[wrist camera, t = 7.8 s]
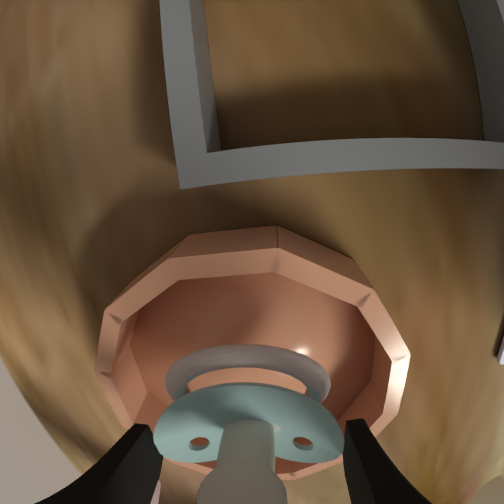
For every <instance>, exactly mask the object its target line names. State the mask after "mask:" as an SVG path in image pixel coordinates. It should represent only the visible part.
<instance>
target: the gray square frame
mask: <svg viewBox="0 0 504 504" xmlns="http://www.w3.org/2000/svg"><path fill="white" fill-rule="evenodd" d="M458 4H459V7H460V10H461V13H462V17H463V20H464V24H465V27H466V31H467V35H468V39H469V43H470V47H471V51H472V56H473V61H474V66H475V71H476V76H477V82H478V89H479V95H480V103H481V111H482V120H483V131H484V141H478V140H462V139H440V138H363V139H339V140H322V141H308V142H295V143H284V144H274V145H264V146H256V147H247V148H239V149H231V150H224V151H221V144H220V136H219V128H218V120H217V112H216V104H215V96H214V88H213V80H212V72H211V63H210V55H209V46H208V38H207V29H206V20H205V11H204V2H203V0H160V17H161V31H162V44H163V56H164V67H165V77H166V87H167V96H168V105H169V113H170V122H171V130H172V137H173V145H174V152H175V159H176V166H177V173H178V180H179V186H180V189H187V188H194V187H201V186H208V185H216V184H223V183H231V182H239V181H248V180H257V179H266V178H276V177H286V176H297V175H308V174H320V173H334V172H349V171H367V170H389V169H423V168H481V169H504V0H458Z"/></svg>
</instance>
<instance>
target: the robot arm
mask: <svg viewBox="0 0 504 504" xmlns="http://www.w3.org/2000/svg"><path fill="white" fill-rule="evenodd" d="M497 361H498V363H499V364H504V337H503V340H502V344H501V347H500V350H499V353H498V356H497ZM342 454H343V463H344V472H345V477H346V482H347V486H348V491H349V495H350V499H351V504H432V503H431V502H430V501H428V500H427V499H426V498H425V497H424V496H423V495H422V494H421V493H420V492H419V491H417V490H416V489H415V488H414V487H413V486H412V485H411V483H410V482H409V481H408V480H407V479H406V478H405V477H404V476H403V475H402V473H401V472H400V471H399V470H398V469H397V467H396V466H395V465H394V464H393V462H392V461H391V460H390V458H389V457H388V456H387V454H386V453H385V452H384V450H383V449H382V447H381V446H380V444H379V443H378V441H377V440H376V438H375V437H374V435H373V433H372V432H371V430H370V428H369V427H368V425H367V423H366V421H365V419H363V418H360V419H353V420H347V421H346V425H345V433H344V448H343V452H342ZM162 461H163V455H161V454H160V453H159V451H158V449H157V447H156V445H155V444H154V439H153V433H152V431H151V429H150V427H149V425H147V424H138V423H135V424H134V425H133V426H132V427H131V428H130V429H129V430H128V431H127V432H126V433H125V434H124V435H123V436H122V437H121V438H120V439H119V440H118V441H117V443H116V444H115V445H114V446H113V447H112V448H111V449H110V450H109V451H108V452H107V453H106V454H105V455H104V456H103V457H102V458H101V459H100V460H99V461H98V462H97V463H95V464H94V465H93V466H92V467H91V468H90V469H89V470H88V471H87V472H85V473H84V474H83V475H82V476H80V477H79V478H78V479H77V480H75V481H74V482H72V483H71V484H70V485H68V486H67V487H65V488H64V489H62V490H60V491H59V492H57V493H55V494H53V495H52V496H50V497H48V498H46V499H44V500H42V501H40V502H37V503H35V504H150V503H151V500H152V497H153V495H154V492H155V489H156V486H157V482H158V479H159V476H160V472H161V467H162Z"/></svg>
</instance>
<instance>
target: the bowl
mask: <svg viewBox="0 0 504 504" xmlns="http://www.w3.org/2000/svg"><path fill="white" fill-rule="evenodd" d="M231 344H259V345H269V346H274V347H280V348H286V349H289V350H292V351H295V352H298V353H301V354H304V355H306V356H308V357H309V358H311V359H313V360H314V361H316V362H317V363H319V364H320V365H321V366H322V367H323V368H324V369H325V371H326V372H327V373H328V374H329V378H330V383H331V387H330V390H329V392H328V395H327V397H326V399H325V400H324V401H323V402H322V403H321V405H323V406H324V407H325V408H327V409H328V410H329V412H330V413H331V414H332V415H333V416H334V417H335V419H336V421H337V422H338V424H339V425H340V427H341V430H342V432H343V435H344V433H345V425H346V421H347V420H353V419H360V418H363V419H365V421H366V423H367V425H368V427H369V428H370V430H371V432H372V433H373V435H374V437H376V436H377V435H378V434H379V433H380V432H381V431H382V430H383V429H384V428H385V427H386V425H387V424H388V423H389V422H390V421H391V420H392V419H393V418H394V417H395V416H396V415H397V413H398V410H399V406H400V402H401V398H402V394H403V389H404V385H405V380H406V375H407V370H408V365H409V360H410V352H409V350H408V348H407V346H406V345H405V343H404V341H403V339H402V337H401V336H400V334H399V332H398V330H397V328H396V327H395V325H394V323H393V321H392V320H391V318H390V316H389V314H388V313H387V311H386V309H385V308H384V306H383V304H382V302H381V301H380V299H379V297H378V296H377V294H376V292H375V291H374V289H373V288H372V286H371V285H370V283H369V282H368V280H367V279H366V277H365V276H364V274H363V273H362V271H361V270H360V268H359V267H358V265H357V264H356V262H355V261H354V260H353V259H351V258H349V257H347V256H345V255H342V254H340V253H338V252H336V251H334V250H331V249H329V248H327V247H325V246H323V245H320V244H318V243H316V242H314V241H311V240H309V239H307V238H305V237H302V236H300V235H298V234H296V233H293V232H291V231H289V230H287V229H284V228H282V227H280V226H278V225H277V227H276V225H273V226H263V227H253V228H243V229H234V230H225V231H215V232H206V233H197V234H190V235H188V236H187V237H186V238H184V239H183V240H182V241H180V242H179V243H178V244H177V245H175V246H174V247H173V248H172V249H170V250H169V251H168V252H167V253H165V254H164V255H163V256H162V257H160V258H159V259H158V260H157V261H155V262H154V263H153V264H152V265H150V266H149V267H148V268H147V269H145V270H144V271H143V272H142V273H140V274H139V275H138V276H137V277H136V278H134V279H133V280H132V281H131V282H130V283H129V284H128V285H127V287H126V288H125V289H124V290H123V291H122V292H121V293H120V294H119V295H118V296H117V297H116V298H115V299H114V300H113V301H112V302H111V303H110V305H109V306H108V307H107V308H106V309H105V310H104V315H103V321H102V326H101V332H100V338H99V344H98V350H97V357H96V364H95V373H96V375H97V377H98V380H99V382H100V384H101V386H102V388H103V390H104V392H105V394H106V396H107V398H108V400H109V402H110V404H111V406H112V408H113V410H114V412H115V414H116V415H117V417H118V419H119V421H120V423H121V424H122V425H123V426H124V427H125V428H126V429H128V430H129V429H130V428H131V427H132V426H133V425H134V424H135V423H138V424H147V425H149V427H150V429H151V431H152V433H153V435H154V430H155V427H156V425H157V422H158V420H159V417H160V416H161V414H162V413H163V411H164V410H165V409H166V408H167V407H168V406H169V405H170V404H171V403H173V402H174V401H173V400H172V399H171V397H170V395H169V394H168V392H167V390H166V388H165V375H166V373H167V371H168V369H169V367H170V366H172V365H173V364H174V363H175V362H176V361H178V360H179V359H180V358H182V357H184V356H186V355H188V354H191V353H193V352H195V351H197V350H201V349H206V348H210V347H214V346H219V345H231ZM234 382H254V383H265V384H271V385H276V386H281V387H285V388H288V389H291V390H294V391H297V392H299V393H302V394H304V393H305V392H306V389H307V387H306V386H305V385H304V384H303V383H302V382H301V381H299V380H297V379H296V378H294V377H292V376H290V375H287V374H284V373H281V372H277V371H273V370H267V369H261V368H245V367H240V368H226V369H220V370H215V371H211V372H208V373H205V374H202V375H200V376H197V377H196V378H194V379H193V380H191V381H190V382H189V383H188V387H189V389H190V391H191V392H193V391H195V390H198V389H200V388H204V387H208V386H212V385H217V384H223V383H234ZM293 440H294V441H295V442H296V443H298V444H300V445H304V446H308V445H311V444H312V442H311V441H310V440H308V439H307V438H304V437H296V438H294V439H293ZM208 442H209V440H208V439H207V438H204V437H197V438H194V439H192V440H191V441H190V443H191V444H192V445H195V446H201V445H205V444H207V443H208ZM163 457H164V456H163ZM164 458H165V459H167V460H168V461H170V462H172V463H174V464H177V465H180V466H183V467H186V468H189V469H192V470H195V471H198V472H202V473H205V474H209V473H210V472H211V471H212V470H214V469H215V468H216V462H217V460H213V461H207V462H199V463H186V462H178V461H173V460H170V459H168V458H166V457H164ZM341 462H343V454H341V455H340V456H339V457H338V458H337V459H335V460H332V461H329V462H324V463H303V462H297V461H291V460H287V459H282V458H279V457H276V456H275V473H276V474H277V475H278V477H279V478H280V479H281V480H293V479H298V478H301V477H304V476H307V475H310V474H313V473H315V472H318V471H321V470H323V469H326V468H328V467H331V466H333V465H336V464H338V463H341Z"/></svg>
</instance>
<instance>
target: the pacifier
mask: <svg viewBox="0 0 504 504" xmlns="http://www.w3.org/2000/svg"><path fill="white" fill-rule="evenodd" d="M240 367H245V368H261V369H267V370H273V371H277V372H281V373H284V374H287V375H290V376H292V377H294V378H296V379H297V380H299V381H301V382H302V383H303V384H304V385H305V386H306V387H307V389H306V392H305V393H304V394H302V393H299V392H297V391H294V390H291V389H288V388H285V387H281V386H276V385H271V384H265V383H254V382H234V383H223V384H217V385H212V386H208V387H204V388H200V389H198V390H195V391H193V392H191V391H190V389H189V387H188V383H189V382H190V381H191V380H193V379H194V378H196V377H197V376H200V375H202V374H205V373H208V372H211V371H215V370H220V369H226V368H240ZM330 387H331V383H330V378H329V374H328V373H327V372H326V371H325V369H324V368H323V367H322V366H321V365H320V364H319V363H317V362H316V361H314V360H313V359H311V358H309V357H308V356H306V355H304V354H301V353H298V352H295V351H292V350H289V349H286V348H280V347H274V346H269V345H259V344H231V345H219V346H214V347H210V348H206V349H201V350H197V351H195V352H193V353H191V354H188V355H186V356H184V357H182V358H180V359H179V360H178V361H176V362H175V363H174V364H173V365H172V366H170V367H169V369H168V371H167V373H166V375H165V388H166V390H167V392H168V394H169V395H170V397H171V399H172V400H173V401H174V402H173V403H171V404H170V405H169V406H168V407H167V408H166V409H165V410H164V411H163V413H162V414H161V416H160V417H159V420H158V422H157V425H156V427H155V430H154V435H153V439H154V444H155V445H156V447H157V449H158V451H159V453H160V454H161V455H163V456H164V457H166V458H168V459H170V460H173V461H178V462H186V463H199V462H207V461H213V460H217V462H216V468H215V469H214V470H212V471H211V472H210V473H209V474H208V475H207V476H206V477H205V479H204V480H203V482H202V483H201V485H200V487H199V490H198V493H197V498H196V504H287V493H286V490H285V487H284V485H283V483H282V481H281V479H280V478H279V477H278V475H277V474H276V473H275V456H276V457H279V458H282V459H287V460H291V461H297V462H303V463H324V462H329V461H332V460H335V459H337V458H338V457H339V456H340V455H341V454H342V452H343V448H344V435H343V432H342V430H341V427H340V425H339V424H338V422H337V421H336V419H335V417H334V416H333V415H332V414H331V413H330V412H329V410H328V409H327V408H325V407H324V406H323V405H321V403H322V402H323V401H324V400H325V399H326V397H327V395H328V392H329V390H330ZM197 437H204V438H207V439H208V440H209V442H208V443H207V444H205V445H201V446H195V445H192V444H191V443H190V441H191V440H192V439H194V438H197ZM296 437H304V438H307V439H308V440H310V441H311V442H312V444H311V445H308V446H304V445H300V444H298V443H296V442H295V441H294V440H293V439H294V438H296Z"/></svg>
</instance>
